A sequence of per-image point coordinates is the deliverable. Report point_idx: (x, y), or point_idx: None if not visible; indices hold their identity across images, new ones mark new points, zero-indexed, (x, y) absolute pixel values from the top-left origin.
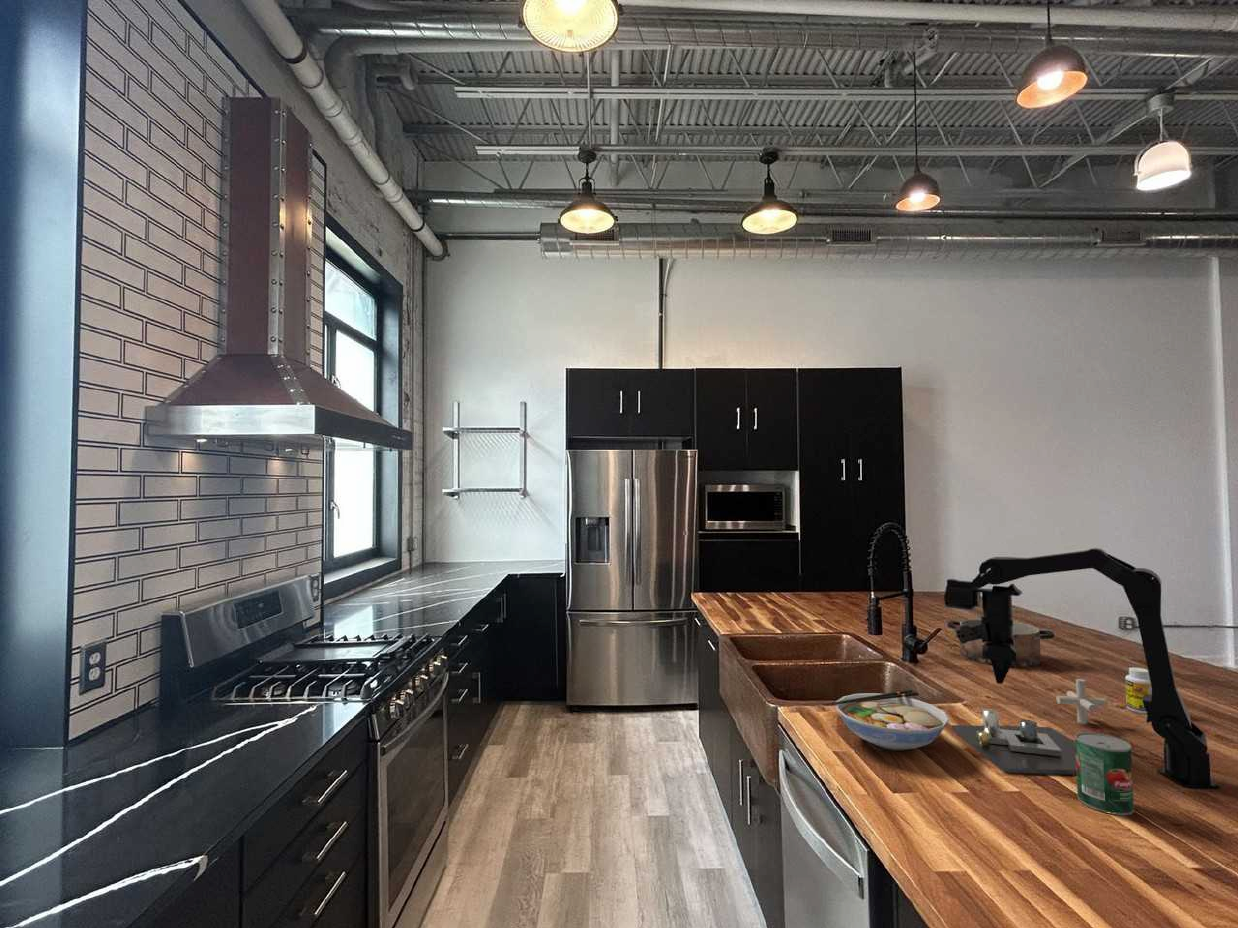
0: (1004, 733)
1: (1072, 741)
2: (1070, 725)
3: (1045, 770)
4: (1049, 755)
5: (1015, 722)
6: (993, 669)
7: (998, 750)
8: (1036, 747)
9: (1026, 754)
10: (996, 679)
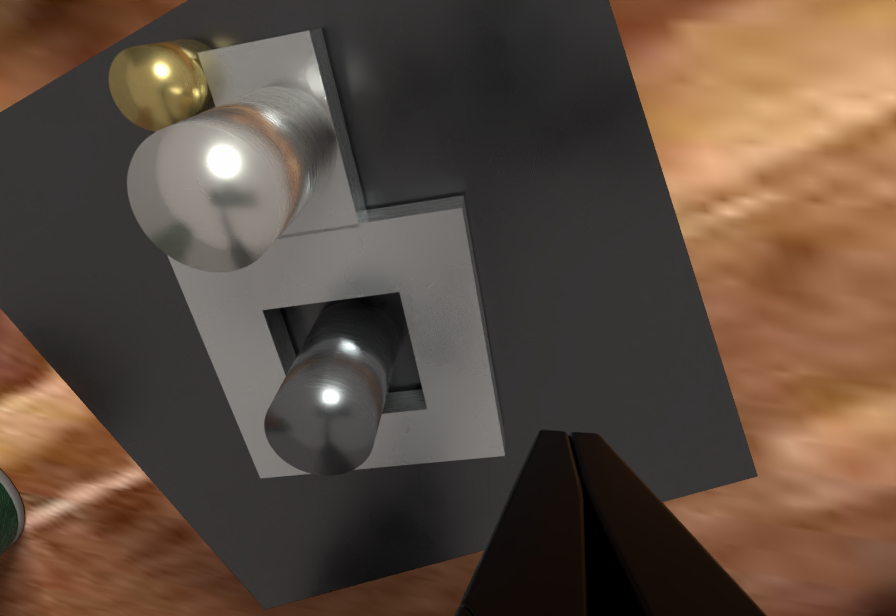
0: (375, 235)
1: None
2: (891, 551)
3: (53, 363)
4: None
5: (883, 309)
6: (464, 605)
7: None
8: (222, 380)
9: None
10: (524, 468)
